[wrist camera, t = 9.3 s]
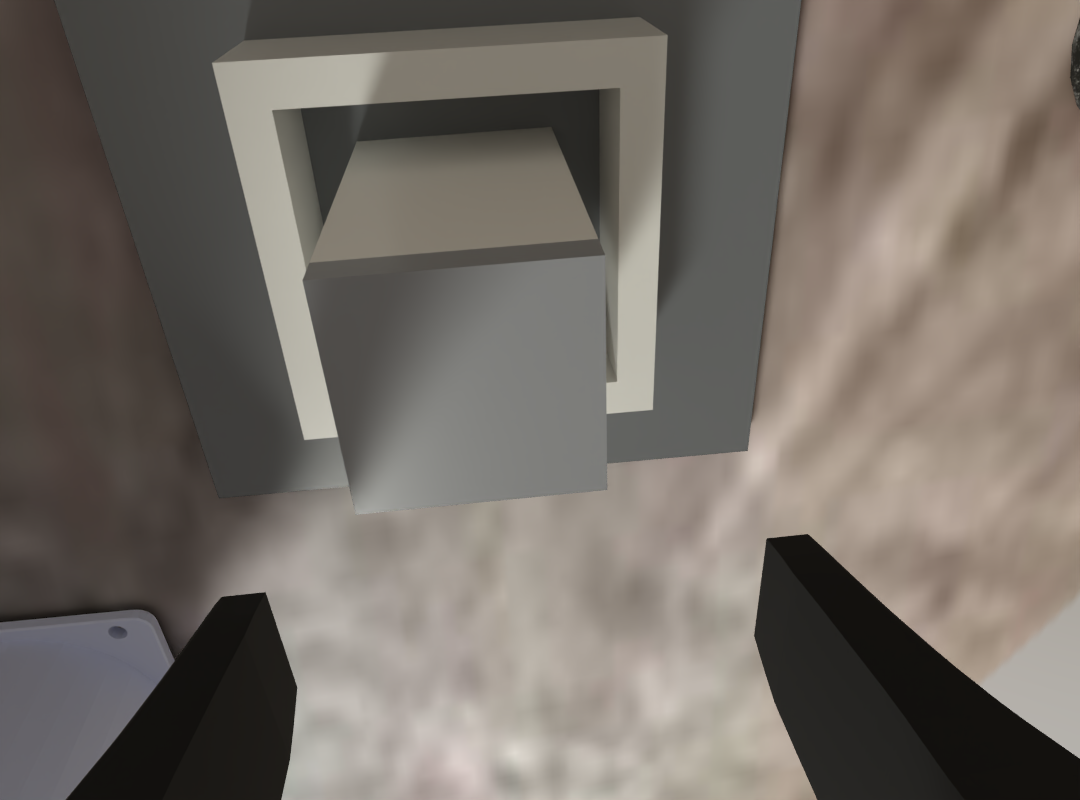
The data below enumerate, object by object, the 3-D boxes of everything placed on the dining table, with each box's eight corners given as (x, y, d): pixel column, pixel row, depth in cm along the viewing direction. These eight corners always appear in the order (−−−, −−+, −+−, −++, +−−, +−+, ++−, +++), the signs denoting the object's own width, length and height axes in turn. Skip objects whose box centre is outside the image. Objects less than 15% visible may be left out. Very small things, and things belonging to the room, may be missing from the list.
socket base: (224, 483, 21) (193, 562, 19) (19, -155, 14) (-79, -166, 11) (740, 438, 22) (778, 508, 20) (811, -192, 15) (887, -209, 12)
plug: (386, 317, 19) (355, 514, 13) (356, 141, 16) (302, 280, 10) (558, 302, 19) (607, 490, 13) (551, 126, 17) (605, 255, 11)
